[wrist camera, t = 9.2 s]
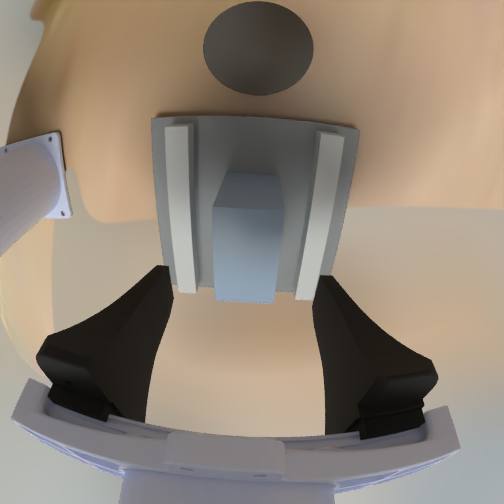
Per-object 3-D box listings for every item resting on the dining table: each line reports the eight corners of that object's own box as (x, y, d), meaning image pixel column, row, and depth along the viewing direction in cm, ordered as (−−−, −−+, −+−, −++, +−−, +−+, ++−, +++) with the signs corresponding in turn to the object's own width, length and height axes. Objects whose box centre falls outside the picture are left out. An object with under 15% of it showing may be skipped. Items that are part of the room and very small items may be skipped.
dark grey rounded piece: (219, 94, 16) (201, 94, 11) (222, 28, 13) (206, 2, 8) (294, 98, 16) (309, 100, 11) (298, 32, 13) (315, 7, 8)
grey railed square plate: (169, 277, 24) (162, 294, 22) (156, 117, 17) (142, 121, 15) (323, 286, 24) (328, 305, 22) (355, 128, 17) (367, 133, 15)
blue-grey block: (225, 247, 21) (214, 300, 16) (226, 172, 18) (212, 206, 13) (270, 250, 21) (273, 303, 16) (278, 175, 18) (285, 211, 13)
